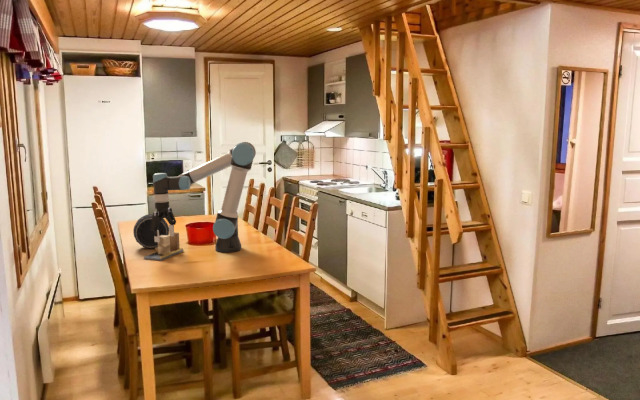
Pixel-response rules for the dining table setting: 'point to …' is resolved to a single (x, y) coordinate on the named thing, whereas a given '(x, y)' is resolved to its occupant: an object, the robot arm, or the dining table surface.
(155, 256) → the grey board with posts
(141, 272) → the dining table surface
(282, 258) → the dining table surface
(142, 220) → the dark studded bowl
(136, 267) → the dining table surface
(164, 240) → the block
